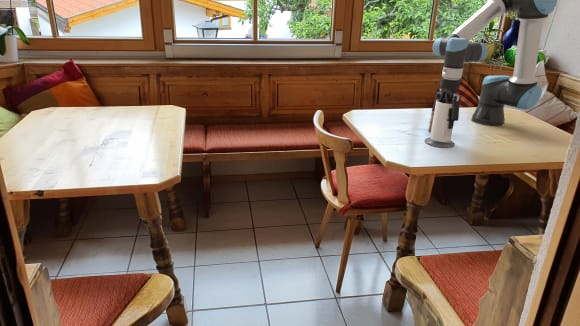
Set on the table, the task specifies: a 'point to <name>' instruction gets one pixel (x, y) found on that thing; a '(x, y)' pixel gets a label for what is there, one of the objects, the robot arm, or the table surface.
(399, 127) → the table surface
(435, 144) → the coaster
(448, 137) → the cup
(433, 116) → the pepper mill
